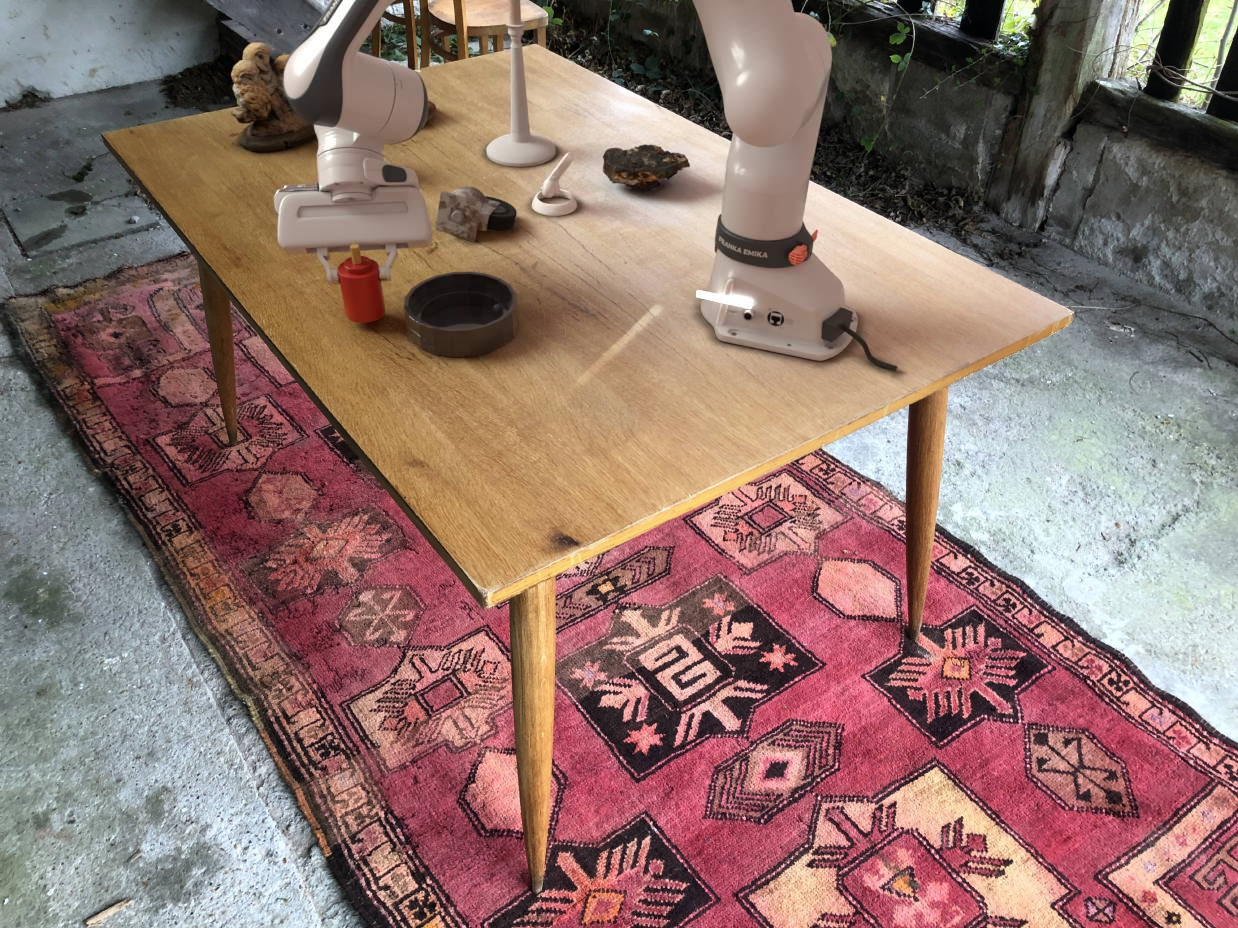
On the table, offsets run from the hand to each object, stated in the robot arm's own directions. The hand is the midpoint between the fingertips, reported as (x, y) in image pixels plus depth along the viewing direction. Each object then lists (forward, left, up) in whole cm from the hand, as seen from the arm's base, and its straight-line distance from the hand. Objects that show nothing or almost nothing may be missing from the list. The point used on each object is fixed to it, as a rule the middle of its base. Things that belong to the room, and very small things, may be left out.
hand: (360, 282), depth 131 cm
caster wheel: (+4, -32, -8) cm, 34 cm away
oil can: (0, 0, -5) cm, 5 cm away
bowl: (-12, -6, -7) cm, 15 cm away
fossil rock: (-11, -61, -8) cm, 63 cm away
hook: (-2, -45, -8) cm, 46 cm away
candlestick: (+15, -60, -8) cm, 63 cm away
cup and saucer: (+43, -61, -8) cm, 76 cm away
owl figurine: (+57, -41, -8) cm, 71 cm away
